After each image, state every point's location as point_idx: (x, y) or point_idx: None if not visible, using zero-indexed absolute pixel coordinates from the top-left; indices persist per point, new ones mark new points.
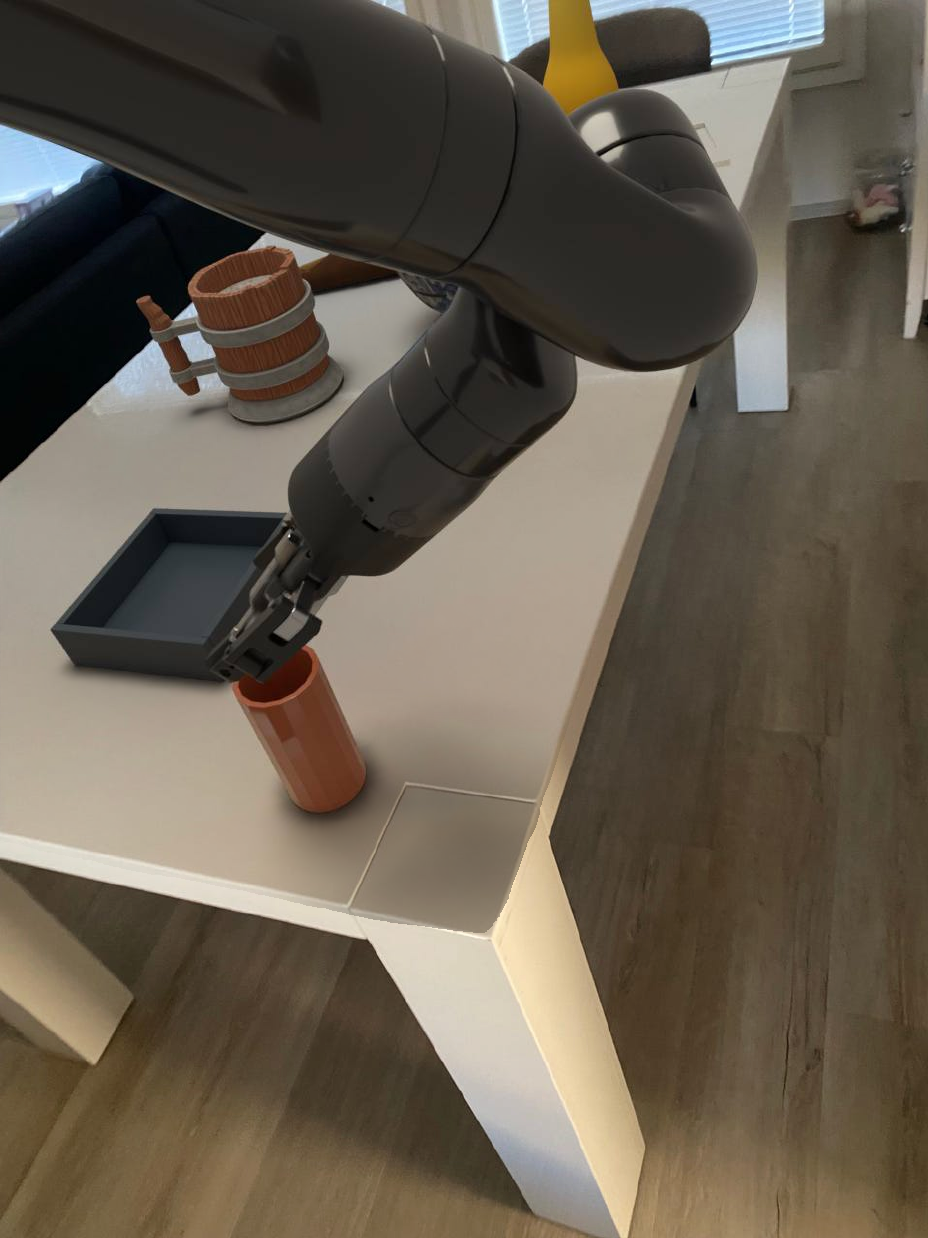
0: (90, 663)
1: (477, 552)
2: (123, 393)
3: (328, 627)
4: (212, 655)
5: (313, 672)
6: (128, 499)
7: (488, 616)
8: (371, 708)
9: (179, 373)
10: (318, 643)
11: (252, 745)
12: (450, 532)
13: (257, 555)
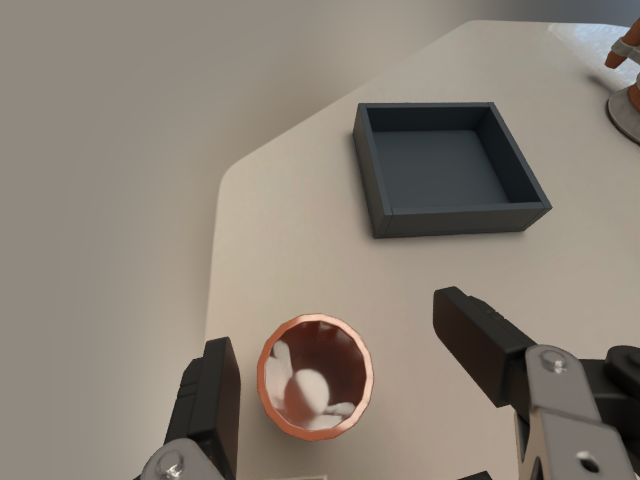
0: (355, 141)
1: None
2: (574, 31)
3: None
4: (203, 362)
5: (329, 432)
6: (495, 84)
7: None
8: (393, 387)
9: (623, 44)
10: None
11: (324, 296)
12: None
13: (448, 296)
